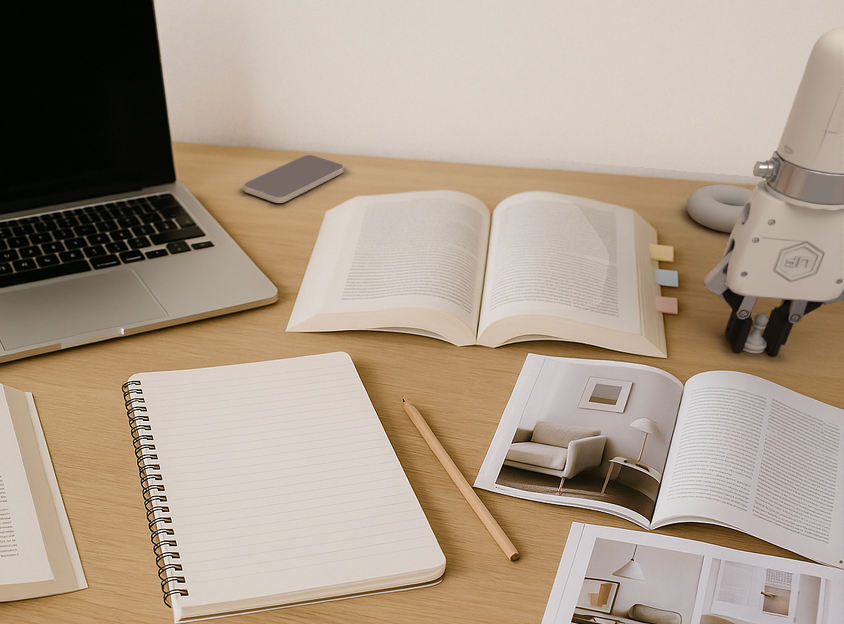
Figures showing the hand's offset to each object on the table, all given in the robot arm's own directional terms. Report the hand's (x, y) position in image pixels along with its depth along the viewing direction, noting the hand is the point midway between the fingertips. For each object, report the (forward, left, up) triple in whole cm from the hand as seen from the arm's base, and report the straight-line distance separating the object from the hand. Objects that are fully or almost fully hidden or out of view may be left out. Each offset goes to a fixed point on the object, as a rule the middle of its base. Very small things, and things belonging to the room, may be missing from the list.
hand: (751, 345), depth 85 cm
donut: (-4, -30, 0) cm, 30 cm away
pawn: (0, 0, 0) cm, 0 cm away
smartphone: (+53, -33, 0) cm, 62 cm away
